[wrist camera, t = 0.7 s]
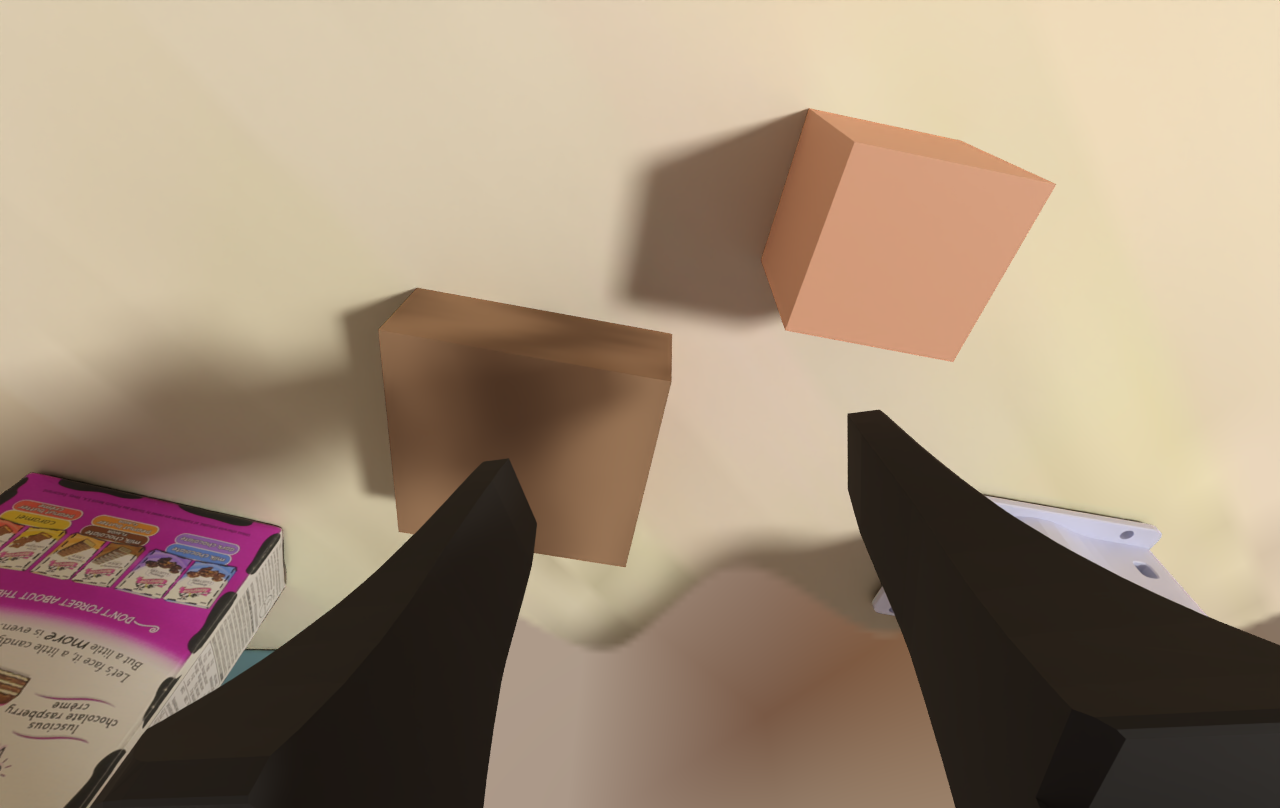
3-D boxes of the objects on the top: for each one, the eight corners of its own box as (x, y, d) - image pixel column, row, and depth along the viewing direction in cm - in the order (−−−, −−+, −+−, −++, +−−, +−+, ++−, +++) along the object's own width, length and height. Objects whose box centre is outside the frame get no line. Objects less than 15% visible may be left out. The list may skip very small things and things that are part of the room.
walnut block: (671, 329, 20) (671, 381, 18) (630, 504, 26) (625, 567, 23) (420, 283, 20) (378, 329, 17) (430, 471, 25) (399, 531, 22)
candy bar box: (63, 538, 28) (-488, 1014, 15) (32, 466, 26) (-680, 972, 12) (294, 588, 30) (-18, 1064, 16) (289, 525, 27) (-92, 1037, 14)
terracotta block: (960, 140, 16) (1056, 184, 12) (892, 285, 19) (953, 361, 15) (808, 108, 16) (854, 141, 12) (760, 259, 19) (785, 330, 14)
